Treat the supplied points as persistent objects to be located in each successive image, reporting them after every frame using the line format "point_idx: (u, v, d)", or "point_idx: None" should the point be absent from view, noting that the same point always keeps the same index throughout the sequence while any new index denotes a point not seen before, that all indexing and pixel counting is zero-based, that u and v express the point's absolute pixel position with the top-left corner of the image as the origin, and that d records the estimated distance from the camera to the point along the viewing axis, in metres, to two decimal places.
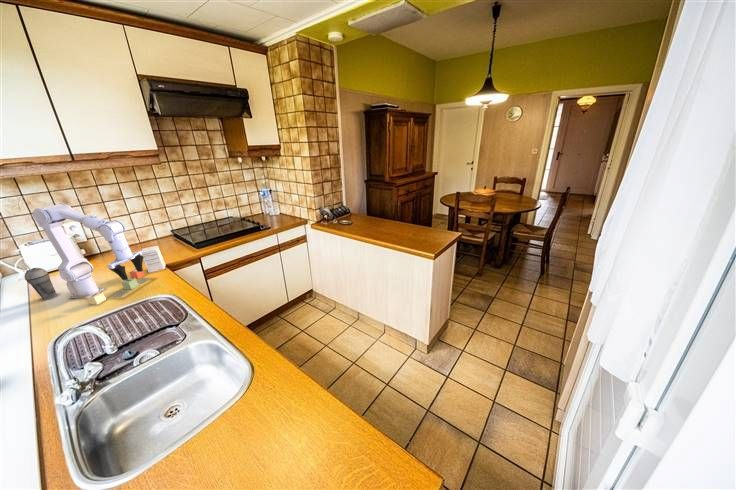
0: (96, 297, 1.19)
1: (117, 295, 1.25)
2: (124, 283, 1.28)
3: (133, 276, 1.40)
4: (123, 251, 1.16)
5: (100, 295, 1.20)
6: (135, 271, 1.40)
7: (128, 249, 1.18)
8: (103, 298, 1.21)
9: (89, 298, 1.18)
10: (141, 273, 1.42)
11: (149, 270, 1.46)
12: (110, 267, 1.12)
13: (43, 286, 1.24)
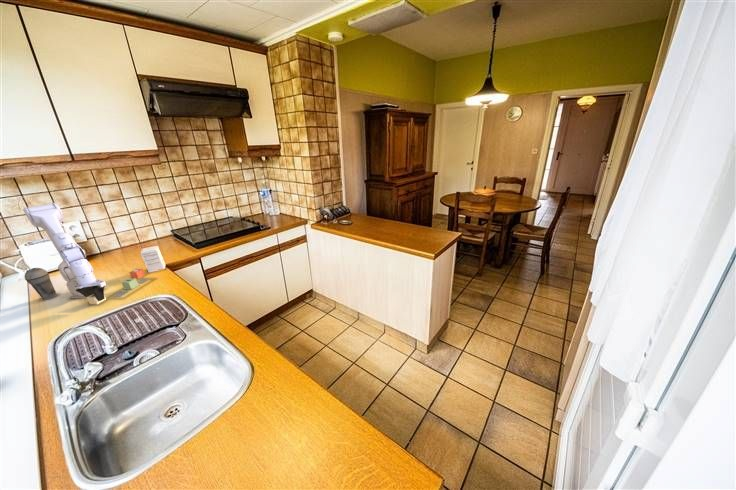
0: None
1: (117, 295, 1.25)
2: (124, 283, 1.28)
3: (133, 276, 1.40)
4: (74, 278, 1.14)
5: None
6: (135, 271, 1.40)
7: (79, 278, 1.13)
8: None
9: (89, 298, 1.18)
10: (141, 273, 1.42)
11: (149, 270, 1.46)
12: None
13: (43, 286, 1.24)
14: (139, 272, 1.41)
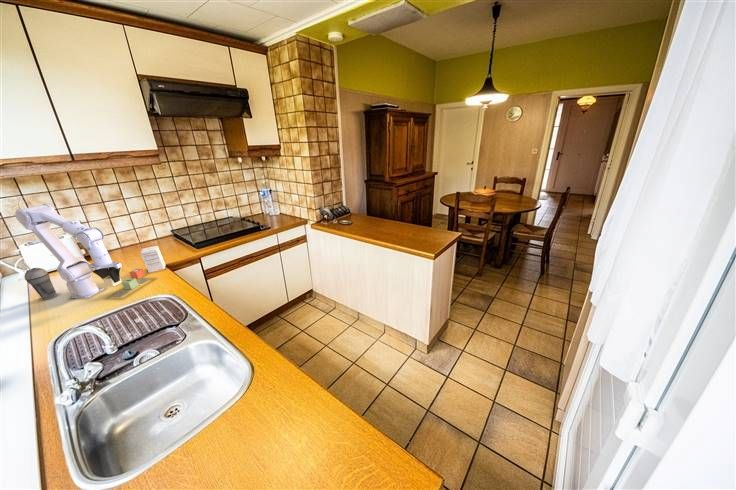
0: None
1: (117, 295, 1.25)
2: (124, 283, 1.28)
3: (133, 276, 1.40)
4: (92, 259, 1.16)
5: None
6: (135, 271, 1.40)
7: (96, 259, 1.15)
8: None
9: (105, 279, 1.20)
10: (141, 273, 1.42)
11: (149, 270, 1.46)
12: None
13: (43, 286, 1.24)
14: (139, 272, 1.41)
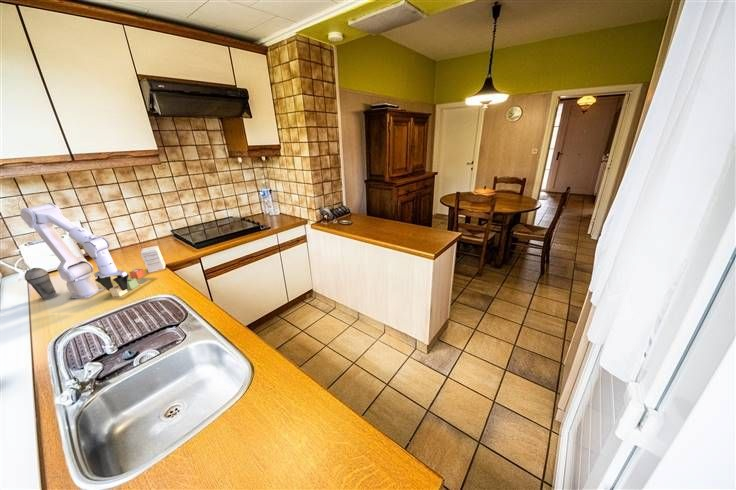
0: (118, 289, 1.23)
1: None
2: None
3: (133, 276, 1.40)
4: None
5: None
6: (135, 271, 1.40)
7: (101, 268, 1.17)
8: (125, 290, 1.26)
9: (112, 289, 1.23)
10: (141, 273, 1.42)
11: (149, 270, 1.46)
12: None
13: (43, 286, 1.24)
14: (139, 272, 1.41)
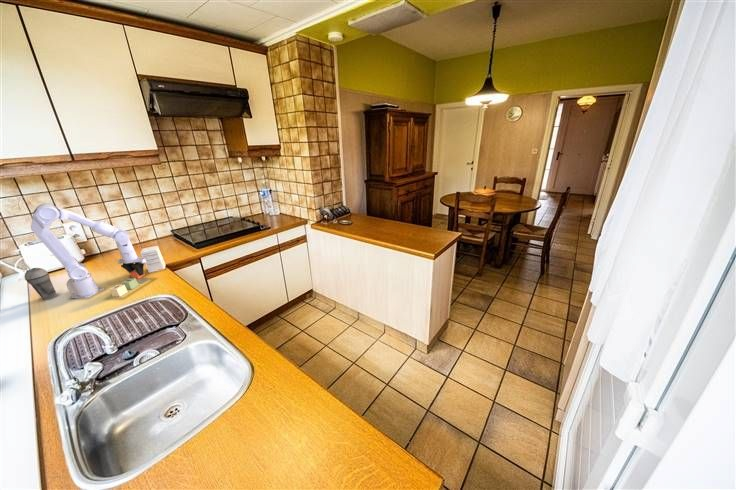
0: (118, 289, 1.23)
1: None
2: (124, 283, 1.28)
3: (133, 276, 1.40)
4: None
5: (122, 287, 1.25)
6: (135, 271, 1.40)
7: None
8: (125, 290, 1.26)
9: (112, 289, 1.23)
10: None
11: (149, 270, 1.46)
12: (144, 261, 1.38)
13: (43, 286, 1.24)
14: None
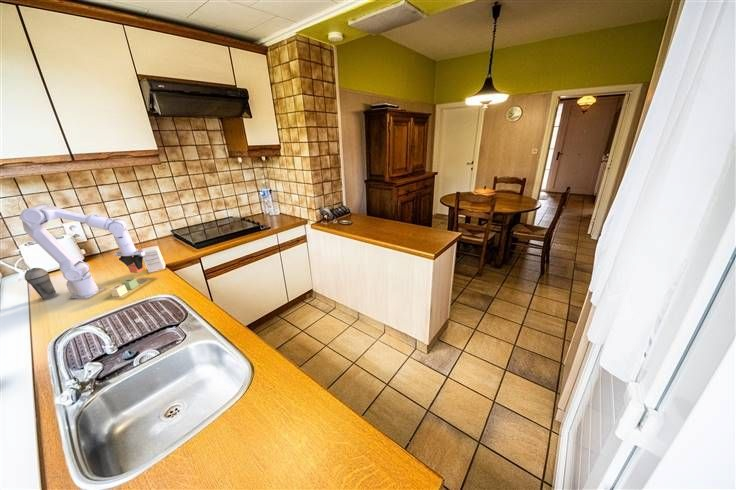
0: (118, 289, 1.23)
1: None
2: (124, 283, 1.28)
3: (131, 270, 1.33)
4: None
5: (122, 287, 1.25)
6: (134, 264, 1.32)
7: None
8: (125, 290, 1.26)
9: (112, 289, 1.23)
10: None
11: (149, 270, 1.46)
12: (143, 254, 1.31)
13: (43, 286, 1.24)
14: None
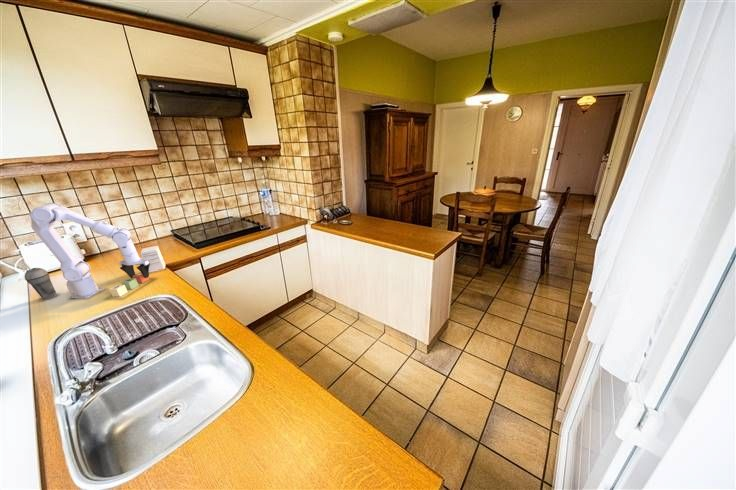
0: (118, 289, 1.23)
1: None
2: (124, 283, 1.28)
3: None
4: None
5: (122, 287, 1.25)
6: (138, 275, 1.34)
7: None
8: (125, 290, 1.26)
9: (112, 289, 1.23)
10: None
11: (149, 270, 1.46)
12: (147, 263, 1.32)
13: (43, 286, 1.24)
14: (142, 276, 1.35)
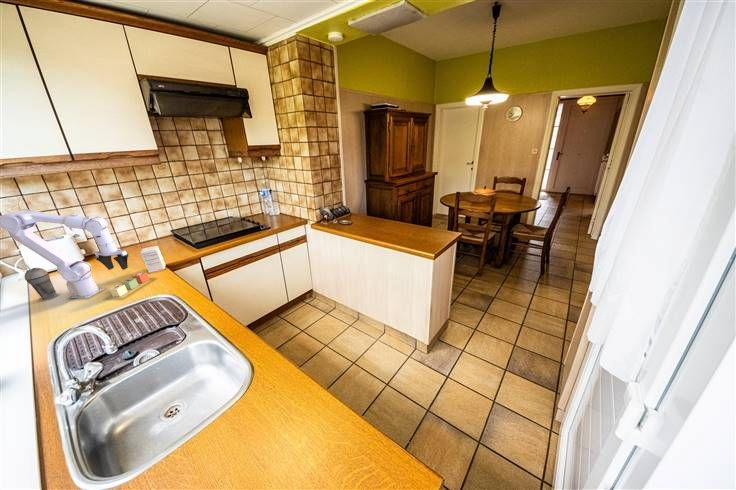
0: (118, 289, 1.23)
1: None
2: (124, 283, 1.28)
3: None
4: None
5: (122, 287, 1.25)
6: (138, 275, 1.34)
7: None
8: (125, 290, 1.26)
9: (112, 289, 1.23)
10: (145, 277, 1.36)
11: (149, 270, 1.46)
12: (125, 253, 1.25)
13: (43, 286, 1.24)
14: (142, 276, 1.35)
